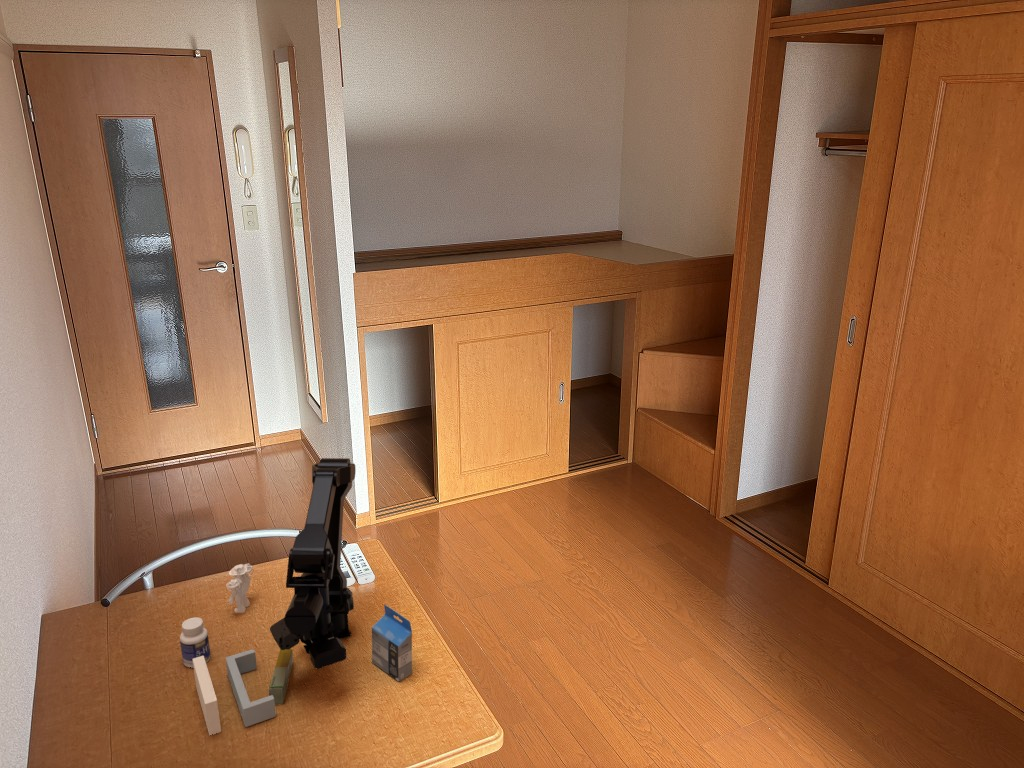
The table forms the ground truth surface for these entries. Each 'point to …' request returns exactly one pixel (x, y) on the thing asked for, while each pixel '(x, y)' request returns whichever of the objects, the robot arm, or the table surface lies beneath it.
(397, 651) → the label tape box
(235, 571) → the flower shoulder figurine
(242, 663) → the cradle
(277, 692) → the medication box
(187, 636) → the pill bottle
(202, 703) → the wall
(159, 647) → the table surface
